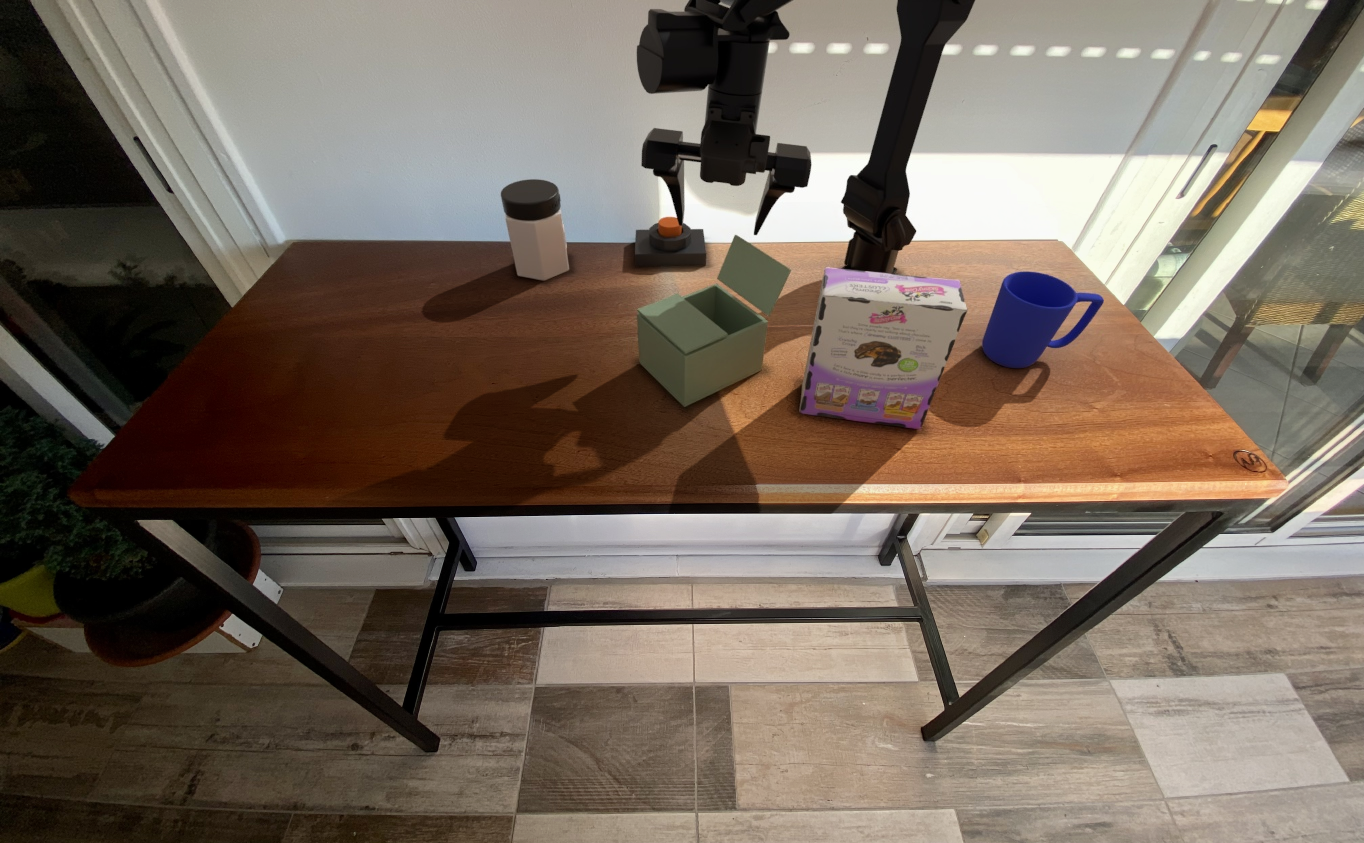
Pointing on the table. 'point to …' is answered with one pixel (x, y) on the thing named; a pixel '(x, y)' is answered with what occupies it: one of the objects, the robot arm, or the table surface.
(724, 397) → the table surface
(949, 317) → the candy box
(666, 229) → the button
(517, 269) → the jar
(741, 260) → the flap
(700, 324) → the carton
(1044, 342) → the mug
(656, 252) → the control block
